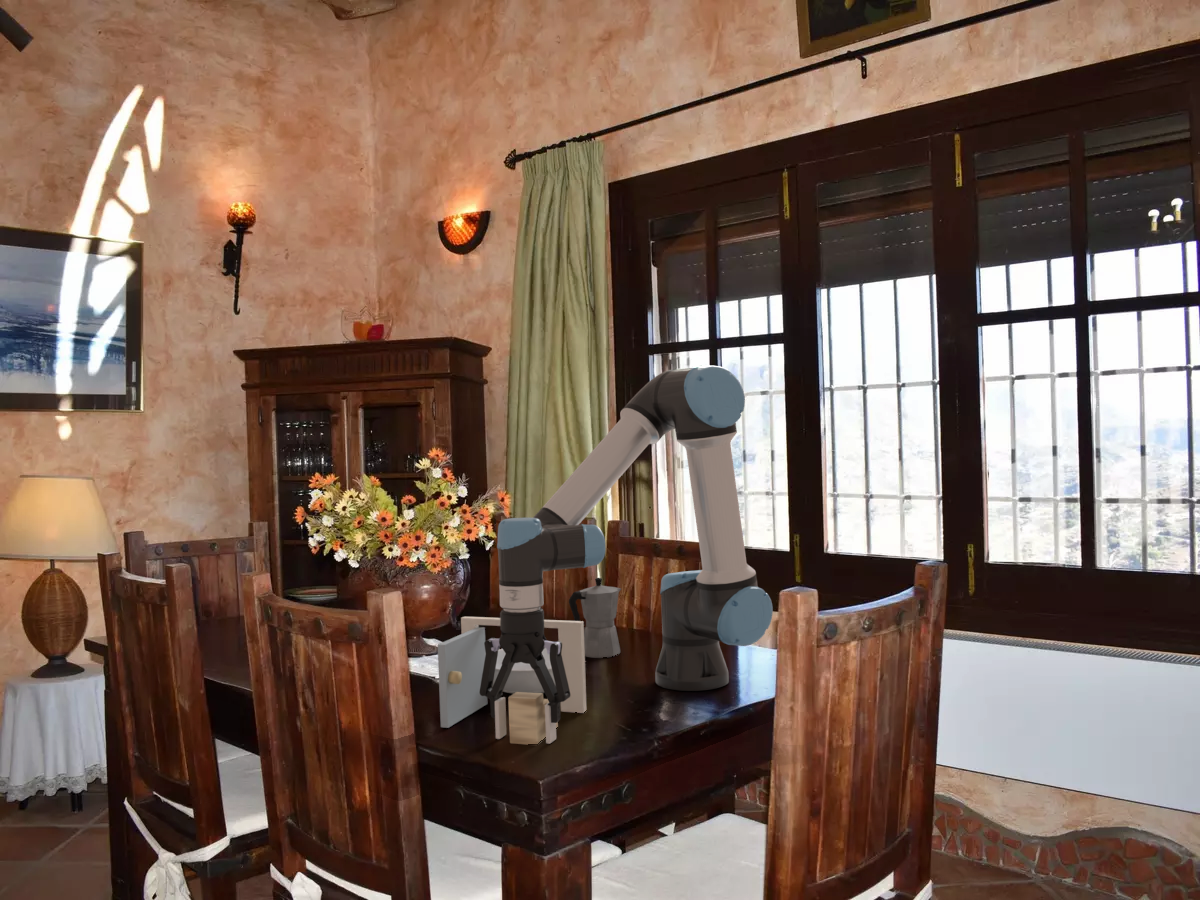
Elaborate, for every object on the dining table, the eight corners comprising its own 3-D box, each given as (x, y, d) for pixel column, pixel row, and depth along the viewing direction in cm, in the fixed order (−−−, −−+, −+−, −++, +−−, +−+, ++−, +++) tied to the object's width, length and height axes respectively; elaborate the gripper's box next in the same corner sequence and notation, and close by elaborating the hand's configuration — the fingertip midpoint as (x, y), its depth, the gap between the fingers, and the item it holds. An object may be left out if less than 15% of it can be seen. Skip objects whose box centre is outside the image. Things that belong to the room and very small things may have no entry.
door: (456, 728, 175) (452, 645, 175) (440, 727, 176) (437, 644, 176) (496, 703, 190) (493, 626, 190) (482, 702, 191) (479, 626, 191)
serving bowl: (487, 709, 188) (486, 673, 188) (472, 682, 208) (471, 650, 208) (591, 697, 194) (590, 663, 193) (567, 672, 214) (565, 641, 214)
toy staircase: (532, 726, 176) (530, 682, 176) (558, 727, 175) (556, 683, 175) (510, 743, 167) (508, 697, 167) (537, 745, 165) (535, 698, 165)
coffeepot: (609, 645, 238) (607, 572, 238) (635, 652, 231) (632, 576, 231) (559, 657, 229) (556, 580, 228) (584, 663, 221) (581, 584, 221)
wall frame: (586, 710, 184) (583, 621, 184) (583, 713, 183) (580, 622, 182) (467, 702, 193) (464, 616, 193) (464, 704, 191) (460, 618, 191)
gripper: (455, 610, 168) (460, 740, 168) (571, 614, 160) (575, 750, 161) (476, 602, 175) (480, 727, 175) (588, 606, 167) (592, 737, 168)
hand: (525, 738), depth 168 cm, fingers open, 9 cm apart
